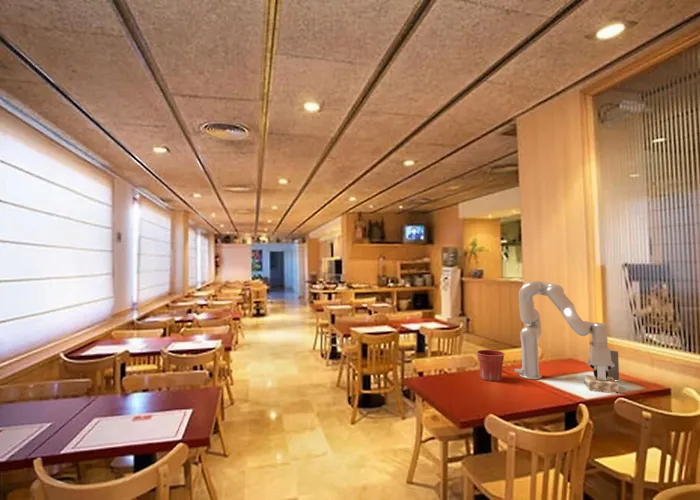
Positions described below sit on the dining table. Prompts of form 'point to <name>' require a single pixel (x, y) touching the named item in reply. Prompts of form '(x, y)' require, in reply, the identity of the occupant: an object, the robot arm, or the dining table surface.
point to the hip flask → (614, 370)
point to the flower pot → (491, 364)
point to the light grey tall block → (601, 373)
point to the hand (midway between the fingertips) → (600, 376)
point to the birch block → (601, 384)
